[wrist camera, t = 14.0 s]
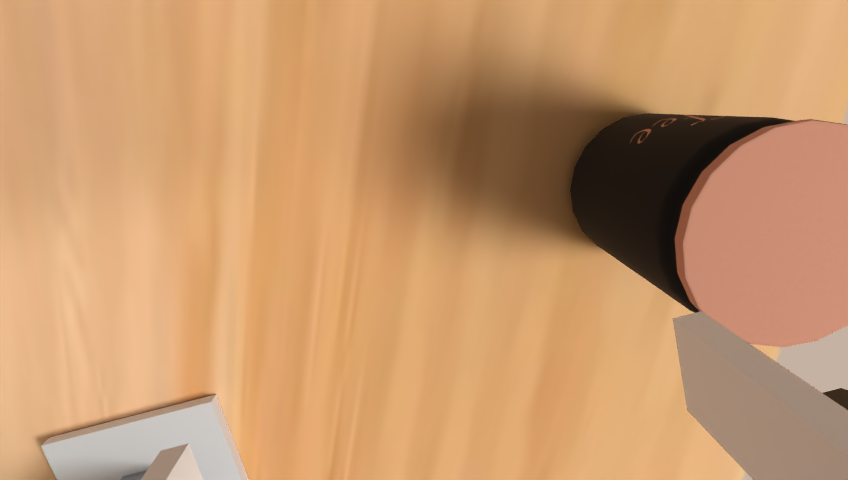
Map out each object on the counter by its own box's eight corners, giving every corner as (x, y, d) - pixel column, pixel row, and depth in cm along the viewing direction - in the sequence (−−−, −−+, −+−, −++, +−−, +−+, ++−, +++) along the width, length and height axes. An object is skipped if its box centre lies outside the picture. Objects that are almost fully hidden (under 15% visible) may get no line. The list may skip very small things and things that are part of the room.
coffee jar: (725, 136, 42) (955, 158, 25) (671, 267, 45) (848, 372, 27) (594, 95, 41) (739, 87, 24) (546, 231, 44) (646, 316, 26)
